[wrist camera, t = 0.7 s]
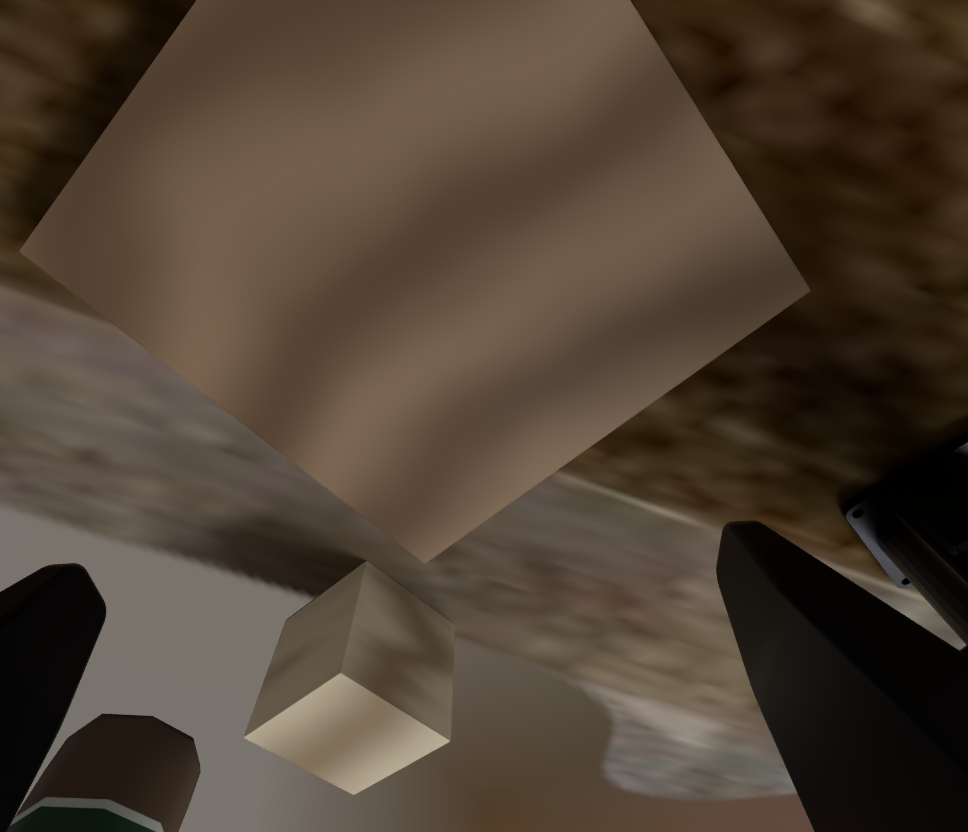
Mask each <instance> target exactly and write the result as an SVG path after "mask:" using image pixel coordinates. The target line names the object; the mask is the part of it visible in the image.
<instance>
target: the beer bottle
mask: <svg viewBox="0 0 968 832" xmlns="http://www.w3.org/2000/svg"><path fill="white" fill-rule="evenodd" d="M199 774H200V763H199V759H198V755H197V751H196V747H195V743H194V739H193V738H192V737H191V736H189V735H187V734H185V733H183V732H181V731H179V730H178V729H176V728H174V727H172V726H170V725H168V724H166V723H165V722H163V721H161V720H159V719H157V718H155V717H153V716H138V715H118V714H101V715H100V716H98V717H97V718H96V719H94V720H93V721H91V722H90V723H88V724H87V725H86V726H84V727H83V728H81V729H80V730H78V731H77V732H75V733H74V734H73V735H71V736H70V737H69V738H67V740H66V741H65V742H64V744H63V745H62V747H61V748H60V749H59V751H58V752H57V754H56V755H55V757H54V758H53V759H52V761H51V762H50V764H49V765H48V766H47V768H46V769H45V771H44V772H43V774H42V775H41V777H40V778H39V780H38V782H37V783H36V785H35V786H34V788H33V790H32V791H31V793H30V794H29V796H28V797H27V799H26V800H25V802H24V804H23V805H22V807H21V809H20V810H19V811H18V813H17V815H16V816H15V818H14V819H13V821H12V823H11V825H10V827H9V829H8V830H7V832H178V831H179V828H180V826H181V824H182V821H183V819H184V816H185V814H186V811H187V809H188V806H189V803H190V801H191V798H192V795H193V792H194V789H195V786H196V783H197V780H198V778H199Z"/></svg>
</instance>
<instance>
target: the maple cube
mask: <svg viewBox="0 0 968 832" xmlns="http://www.w3.org/2000/svg"><path fill="white" fill-rule="evenodd" d="M454 635H455V625H454V624H452V623H451V622H450V621H448V620H447V619H446V618H444V617H443V616H441V615H440V614H439V613H437V612H436V611H435V610H433V609H432V608H431V607H429V606H428V605H426V604H425V603H424V602H422V601H421V600H420V599H418V598H417V597H416V596H414V595H413V594H411V593H410V592H409V591H407V590H406V589H405V588H403V587H402V586H401V585H399V584H398V583H396V582H395V581H394V580H392V579H391V578H390V577H388V576H387V575H386V574H384V573H383V572H381V571H380V570H379V569H377V568H376V567H375V566H373V565H372V564H371V563H369V562H368V561H365V562H364V563H363V564H361V565H360V566H359V567H357V568H356V569H355V570H353V571H352V572H351V573H349V574H348V575H347V576H345V577H344V578H343V579H341V580H340V581H339V582H337V583H336V584H335V585H333V586H332V587H331V588H329V589H328V590H327V591H325V592H324V593H322V594H321V595H320V596H318V597H317V598H316V599H314V600H312V601H310V602H309V603H308V604H306V605H305V606H304V607H303V608H301V609H300V610H298V611H297V612H296V613H294V614H293V615H292V616H291V617H289V618H288V619H287V620H286V621H285V624H284V627H283V630H282V632H281V635H280V638H279V641H278V643H277V646H276V649H275V652H274V654H273V657H272V660H271V663H270V666H269V668H268V671H267V674H266V677H265V679H264V682H263V685H262V688H261V690H260V693H259V696H258V699H257V702H256V704H255V707H254V710H253V713H252V715H251V718H250V721H249V724H248V727H247V730H246V732H245V735H244V738H245V739H247V740H249V741H251V742H253V743H255V744H257V745H259V746H261V747H263V748H265V749H266V750H268V751H271V752H272V753H274V754H276V755H278V756H280V757H282V758H284V759H286V760H288V761H289V762H292V763H293V764H295V765H297V766H299V767H301V768H303V769H305V770H307V771H309V772H311V773H312V774H314V775H316V776H318V777H320V778H322V779H324V780H326V781H328V782H330V783H332V784H334V785H336V786H337V787H339V788H341V789H343V790H345V791H347V792H349V793H351V794H353V795H355V794H357V793H358V792H360V791H362V790H364V789H365V788H367V787H369V786H371V785H373V784H374V783H376V782H378V781H380V780H382V779H383V778H385V777H387V776H389V775H391V774H392V773H394V772H396V771H398V770H400V769H401V768H403V767H405V766H407V765H409V764H410V763H412V762H414V761H416V760H418V759H419V758H421V757H423V756H425V755H427V754H428V753H430V752H432V751H434V750H436V749H437V748H439V747H441V746H443V745H445V744H446V743H448V742H450V741H451V714H452V688H453V662H454Z"/></svg>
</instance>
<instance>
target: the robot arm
mask: <svg viewBox="0 0 968 832" xmlns="http://www.w3.org/2000/svg"><path fill="white" fill-rule="evenodd" d="M855 510H856V511H855ZM841 512H842V514H843V516H844V517H845V518H846V520H847V521H848V522H849V524H850V525H851V527H852V528H853V529H854V531H855V532H856V533H857V535H858V536H859V537H860V539H861V540H862V541H863V543H864V544H865V545H866V547H867V548H868V549H869V551H870V552H871V553H872V555H873V556H874V557H875V559H876V560H877V561H878V563H879V564H880V565H881V567H882V568H883V569H884V571H885V572H886V573H887V575H888V576H889V577H890V579H891V580H892V581H893V582H894V584H895V585H896V586H897V587H899V588H902V589H904V588H909V587H911V586H914V587H915V588H916V589H917V590H918V591H919V592H920V593H921V595H922V596H923V597H924V598H925V599H926V600H927V601H928V602H929V603H930V605H931V606H932V607H933V608H934V609H935V610H936V611H937V612H938V613H939V615H940V616H941V617H942V618H943V619H944V620H945V621H946V622H947V624H948V625H949V626H950V627H951V628H952V629H953V630H954V631H955V632H956V634H957V635H958V636H959V637H960V638H961V639H962V640H963V641H964V643H965V644H966V646H965V647H964V648H962V649H961V650H960V651H959V650H957V649H956V648H954V647H953V646H951V645H950V644H948V643H947V642H945V641H944V640H942V639H940V638H939V637H937V636H936V635H934V634H933V633H931V632H930V631H928V630H926V629H925V628H923V627H922V626H920V625H919V624H917V623H916V622H914V621H912V620H911V619H909V618H908V617H906V616H905V615H903V614H902V613H900V612H899V611H897V610H895V609H894V608H892V607H891V606H889V605H888V604H886V603H885V602H883V601H881V600H880V599H878V598H877V597H875V596H874V595H872V594H871V593H869V592H868V591H866V590H864V589H863V588H861V587H860V586H858V585H857V584H855V583H854V582H852V581H850V580H849V579H847V578H846V577H844V576H843V575H841V574H840V573H838V572H837V571H835V570H833V569H832V568H830V567H829V566H827V565H826V564H824V563H823V562H821V561H819V560H818V559H816V558H815V557H813V556H812V555H810V554H809V553H807V552H806V551H804V550H802V549H801V548H799V547H798V546H796V545H795V544H793V543H792V542H790V541H788V540H787V539H785V538H784V537H782V536H781V535H779V534H778V533H776V532H774V531H773V530H771V529H770V528H768V527H767V526H765V525H764V524H762V523H760V522H758V521H752V520H751V521H735V522H729V523H727V524H725V526H724V528H723V531H722V536H721V542H720V548H719V554H718V560H717V567H716V573H717V580H718V584H719V588H720V591H721V594H722V597H723V600H724V603H725V607H726V610H727V613H728V616H729V619H730V622H731V625H732V629H733V632H734V635H735V638H736V641H737V644H738V647H739V651H740V654H741V657H742V660H743V663H744V666H745V669H746V673H747V675H748V678H749V681H750V684H751V687H752V690H753V692H754V695H755V697H756V700H757V702H758V705H759V707H760V709H761V712H762V714H763V716H764V719H765V721H766V723H767V725H768V728H769V730H770V732H771V734H772V737H773V739H774V741H775V743H776V746H777V748H778V750H779V753H780V755H781V757H782V759H783V762H784V764H785V766H786V768H787V771H788V773H789V775H790V777H791V780H792V782H793V784H794V786H795V789H796V791H797V793H798V796H799V798H800V800H801V802H802V805H803V807H804V809H805V811H806V814H807V816H808V818H809V820H810V823H811V825H812V827H813V830H814V832H968V433H967V434H966V435H964V436H962V437H960V438H958V439H957V440H955V441H953V442H951V443H950V444H948V445H946V446H944V447H943V448H941V449H939V450H937V451H936V452H934V453H932V454H930V455H928V456H927V457H925V458H923V459H921V460H920V461H918V462H916V463H914V464H913V465H911V466H909V467H907V468H906V469H904V470H902V471H900V472H898V473H897V474H895V475H893V476H891V477H890V478H888V479H886V480H884V481H883V482H881V483H879V484H877V485H876V486H874V487H872V488H870V489H868V490H867V491H865V492H863V493H861V494H860V495H858V496H856V497H854V498H853V499H851V500H849V501H847V502H846V503H845V504H844V505H843V506H842V508H841ZM105 618H106V605H105V602H104V600H103V598H102V596H101V595H100V593H99V591H98V590H97V588H96V586H95V584H94V582H93V581H92V579H91V577H90V576H89V574H88V572H87V570H86V569H85V568H84V567H83V566H81V565H79V564H76V563H69V564H53V565H49V566H45V567H43V568H41V569H39V570H38V571H36V572H34V573H32V574H31V575H29V576H27V577H26V578H24V579H22V580H20V581H18V582H17V583H15V584H13V585H12V586H10V587H8V588H6V589H5V590H3V591H1V592H0V832H7V830H8V829H9V827H10V825H11V823H12V821H13V819H14V817H15V815H16V813H17V811H18V809H19V807H20V805H21V803H22V802H23V800H24V798H25V796H26V794H27V792H28V790H29V788H30V786H31V784H32V782H33V780H34V778H35V777H36V775H37V773H38V771H39V769H40V767H41V765H42V763H43V761H44V759H45V757H46V755H47V753H48V752H49V750H50V748H51V746H52V744H53V742H54V739H55V738H56V735H57V734H58V732H59V730H60V727H61V725H62V723H63V721H64V718H65V716H66V714H67V712H68V709H69V707H70V704H71V702H72V699H73V697H74V695H75V692H76V690H77V687H78V685H79V682H80V680H81V678H82V675H83V673H84V670H85V668H86V665H87V663H88V660H89V658H90V656H91V653H92V651H93V648H94V646H95V644H96V641H97V639H98V636H99V634H100V631H101V629H102V626H103V624H104V621H105Z"/></svg>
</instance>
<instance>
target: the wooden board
mask: <svg viewBox="0 0 968 832" xmlns="http://www.w3.org/2000/svg"><path fill="white" fill-rule="evenodd" d="M19 252H20V253H22V254H23V255H24V256H25V257H27V258H28V259H29V260H31V261H32V262H33V263H34V264H36V265H37V266H38V267H40V268H41V269H42V270H44V271H45V272H46V273H47V274H49V275H50V276H51V277H53V278H54V279H55V280H57V281H58V282H59V283H60V284H62V285H63V286H64V287H66V288H67V289H68V290H70V291H71V292H72V293H73V294H75V295H76V296H77V297H79V298H80V299H81V300H83V301H84V302H85V303H86V304H88V305H89V306H90V307H92V308H93V309H94V310H96V311H97V312H98V313H99V314H101V315H102V316H103V317H105V318H106V319H107V320H109V321H110V322H111V323H112V324H114V325H115V326H116V327H118V328H119V329H120V330H122V331H123V332H124V333H125V334H127V335H128V336H129V337H131V338H132V339H133V340H135V341H136V342H137V343H138V344H140V345H141V346H142V347H144V348H145V349H146V350H148V351H149V352H150V353H151V354H153V355H154V356H155V357H157V358H158V359H159V360H161V361H162V362H163V363H164V364H166V365H167V366H168V367H170V368H171V369H172V370H173V371H175V372H176V373H177V374H179V375H180V376H181V377H183V378H184V379H185V380H186V381H188V382H189V383H190V384H192V385H193V386H194V387H196V388H197V389H198V390H199V391H201V392H202V393H203V394H205V395H206V396H207V397H209V398H210V399H211V400H212V401H214V402H215V403H216V404H218V405H219V406H220V407H222V408H223V409H224V410H225V411H227V412H228V413H229V414H231V415H232V416H233V417H235V418H236V419H237V420H238V421H240V422H241V423H242V424H244V425H245V426H246V427H248V428H249V429H250V430H251V431H253V432H254V433H255V434H257V435H258V436H259V437H261V438H262V439H263V440H264V441H266V442H267V443H268V444H270V445H271V446H272V447H274V448H275V449H276V450H277V451H279V452H280V453H281V454H283V455H284V456H285V457H287V458H288V459H289V460H290V461H292V462H293V463H294V464H296V465H297V466H298V467H300V468H301V469H302V470H303V471H305V472H306V473H307V474H309V475H310V476H311V477H313V478H314V479H315V480H316V481H318V482H319V483H320V484H322V485H323V486H324V487H325V488H327V489H328V490H329V491H331V492H332V493H333V494H335V495H336V496H337V497H338V498H340V499H341V500H342V501H344V502H345V503H346V504H348V505H349V506H350V507H351V508H353V509H354V510H355V511H357V512H358V513H359V514H361V515H362V516H363V517H364V518H366V519H367V520H368V521H370V522H371V523H372V524H374V525H375V526H376V527H377V528H379V529H380V530H381V531H383V532H384V533H385V534H387V535H388V536H389V537H390V538H392V539H393V540H394V541H396V542H397V543H398V544H400V545H401V546H402V547H403V548H405V549H406V550H407V551H409V552H410V553H411V554H413V555H414V556H415V557H416V558H418V559H419V560H420V561H422V562H423V563H424V564H425V563H427V562H428V561H430V560H431V559H432V558H434V557H435V556H437V555H438V554H439V553H441V552H442V551H444V550H445V549H447V548H448V547H449V546H451V545H452V544H454V543H455V542H456V541H458V540H459V539H461V538H462V537H463V536H465V535H466V534H468V533H469V532H471V531H472V530H473V529H475V528H476V527H478V526H479V525H480V524H482V523H483V522H485V521H486V520H487V519H489V518H490V517H492V516H493V515H495V514H496V513H497V512H499V511H500V510H502V509H503V508H504V507H506V506H507V505H509V504H510V503H511V502H513V501H514V500H516V499H517V498H519V497H520V496H521V495H523V494H524V493H526V492H527V491H528V490H530V489H531V488H533V487H534V486H536V485H537V484H538V483H540V482H541V481H543V480H544V479H545V478H547V477H548V476H550V475H551V474H552V473H554V472H555V471H557V470H558V469H560V468H561V467H562V466H564V465H565V464H567V463H568V462H569V461H571V460H572V459H574V458H575V457H576V456H578V455H579V454H581V453H582V452H584V451H585V450H586V449H588V448H589V447H591V446H592V445H593V444H595V443H596V442H598V441H599V440H600V439H602V438H603V437H605V436H606V435H608V434H609V433H610V432H612V431H613V430H615V429H616V428H617V427H619V426H620V425H622V424H623V423H624V422H626V421H627V420H629V419H630V418H632V417H633V416H634V415H636V414H637V413H639V412H640V411H641V410H643V409H644V408H646V407H647V406H649V405H650V404H651V403H653V402H654V401H656V400H657V399H658V398H660V397H661V396H663V395H664V394H665V393H667V392H668V391H670V390H671V389H673V388H674V387H675V386H677V385H678V384H680V383H681V382H682V381H684V380H685V379H687V378H688V377H689V376H691V375H692V374H694V373H695V372H697V371H698V370H699V369H701V368H702V367H704V366H705V365H706V364H708V363H709V362H711V361H712V360H713V359H715V358H716V357H718V356H719V355H721V354H722V353H723V352H725V351H726V350H728V349H729V348H730V347H732V346H733V345H735V344H736V343H737V342H739V341H740V340H742V339H743V338H745V337H746V336H747V335H749V334H750V333H752V332H753V331H754V330H756V329H757V328H759V327H760V326H762V325H763V324H764V323H766V322H767V321H769V320H770V319H771V318H773V317H774V316H776V315H777V314H778V313H780V312H781V311H783V310H784V309H786V308H787V307H788V306H790V305H791V304H793V303H794V302H795V301H797V300H798V299H800V298H801V297H802V296H804V295H805V294H807V293H808V292H810V291H811V290H810V289H809V287H808V285H807V284H806V282H805V281H804V279H803V277H802V276H801V274H800V273H799V271H798V269H797V268H796V266H795V264H794V263H793V261H792V260H791V258H790V256H789V255H788V253H787V252H786V250H785V248H784V247H783V245H782V244H781V242H780V240H779V239H778V237H777V236H776V234H775V232H774V231H773V229H772V228H771V226H770V224H769V223H768V221H767V219H766V218H765V216H764V215H763V213H762V211H761V210H760V208H759V207H758V205H757V203H756V202H755V200H754V199H753V197H752V195H751V194H750V192H749V191H748V189H747V187H746V186H745V184H744V183H743V181H742V179H741V178H740V176H739V174H738V173H737V171H736V170H735V168H734V166H733V165H732V163H731V162H730V160H729V158H728V157H727V155H726V154H725V152H724V150H723V149H722V147H721V146H720V144H719V142H718V141H717V139H716V138H715V136H714V134H713V133H712V131H711V129H710V128H709V126H708V125H707V123H706V121H705V120H704V118H703V117H702V115H701V113H700V112H699V110H698V109H697V107H696V105H695V104H694V102H693V101H692V99H691V97H690V96H689V94H688V93H687V91H686V89H685V88H684V86H683V84H682V83H681V81H680V80H679V78H678V76H677V75H676V73H675V72H674V70H673V68H672V67H671V65H670V64H669V62H668V60H667V59H666V57H665V56H664V54H663V52H662V51H661V49H660V48H659V46H658V44H657V43H656V41H655V39H654V38H653V36H652V35H651V33H650V31H649V30H648V28H647V27H646V25H645V23H644V22H643V20H642V19H641V17H640V15H639V14H638V12H637V11H636V9H635V7H634V6H633V4H632V3H631V1H630V0H196V2H195V3H194V4H193V6H192V7H191V9H190V10H189V12H188V13H187V14H186V16H185V17H184V19H183V20H182V21H181V23H180V24H179V26H178V27H177V29H176V30H175V31H174V33H173V34H172V36H171V37H170V38H169V40H168V41H167V43H166V44H165V46H164V47H163V48H162V50H161V51H160V53H159V54H158V55H157V57H156V58H155V60H154V61H153V63H152V64H151V65H150V67H149V68H148V70H147V71H146V72H145V74H144V75H143V77H142V78H141V80H140V81H139V82H138V84H137V85H136V87H135V88H134V89H133V91H132V92H131V94H130V95H129V97H128V98H127V99H126V101H125V102H124V104H123V105H122V106H121V108H120V109H119V111H118V112H117V113H116V115H115V116H114V118H113V119H112V121H111V122H110V123H109V125H108V126H107V128H106V129H105V130H104V132H103V133H102V135H101V136H100V138H99V139H98V140H97V142H96V143H95V145H94V146H93V147H92V149H91V150H90V152H89V153H88V155H87V156H86V157H85V159H84V160H83V162H82V163H81V164H80V166H79V167H78V169H77V170H76V172H75V173H74V174H73V176H72V177H71V179H70V180H69V181H68V183H67V184H66V186H65V187H64V189H63V190H62V191H61V193H60V194H59V196H58V197H57V198H56V200H55V201H54V203H53V204H52V206H51V207H50V208H49V210H48V211H47V213H46V214H45V215H44V217H43V218H42V220H41V221H40V223H39V224H38V225H37V227H36V228H35V230H34V231H33V232H32V234H31V235H30V237H29V238H28V240H27V241H26V242H25V244H24V245H23V247H22V248H21V249H20V251H19Z"/></svg>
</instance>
